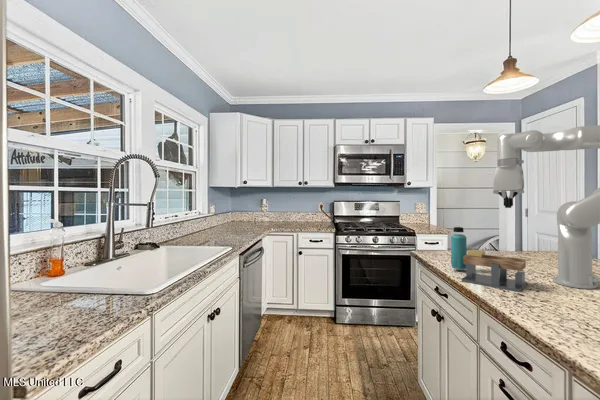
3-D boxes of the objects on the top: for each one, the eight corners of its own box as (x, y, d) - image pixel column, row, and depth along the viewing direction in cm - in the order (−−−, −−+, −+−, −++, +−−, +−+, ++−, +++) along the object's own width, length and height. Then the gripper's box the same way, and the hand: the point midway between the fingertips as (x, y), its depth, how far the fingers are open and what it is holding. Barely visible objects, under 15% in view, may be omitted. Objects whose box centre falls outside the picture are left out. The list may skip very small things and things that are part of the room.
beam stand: (526, 284, 113) (526, 261, 113) (519, 292, 104) (519, 267, 104) (472, 275, 127) (472, 254, 127) (461, 281, 118) (461, 259, 118)
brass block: (485, 257, 120) (485, 250, 120) (481, 259, 116) (481, 252, 116) (471, 256, 123) (471, 249, 123) (467, 258, 120) (467, 251, 120)
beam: (525, 266, 111) (525, 259, 111) (520, 271, 106) (520, 262, 106) (470, 260, 125) (470, 253, 125) (463, 263, 120) (463, 256, 120)
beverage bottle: (469, 273, 130) (469, 228, 130) (453, 272, 132) (453, 227, 131) (464, 269, 137) (464, 226, 136) (449, 268, 138) (448, 226, 138)
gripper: (532, 162, 120) (532, 207, 120) (490, 165, 131) (490, 207, 131) (528, 161, 115) (528, 208, 115) (485, 164, 126) (485, 207, 126)
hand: (508, 207), depth 123 cm, fingers closed
